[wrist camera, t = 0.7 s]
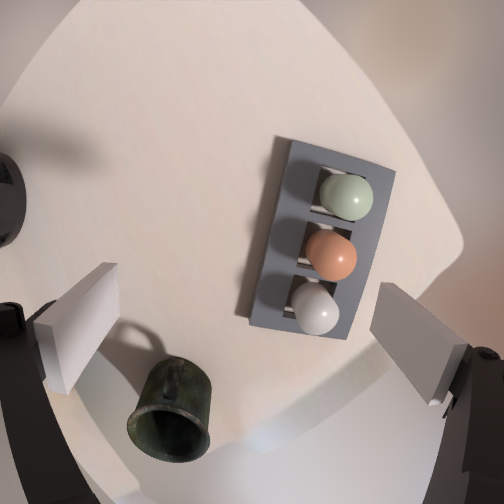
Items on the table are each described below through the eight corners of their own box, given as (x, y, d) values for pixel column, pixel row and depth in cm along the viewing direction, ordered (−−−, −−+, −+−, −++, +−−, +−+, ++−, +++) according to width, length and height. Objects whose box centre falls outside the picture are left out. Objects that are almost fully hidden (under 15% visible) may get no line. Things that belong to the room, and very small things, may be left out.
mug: (147, 403, 47) (129, 454, 36) (146, 329, 44) (121, 377, 32) (211, 414, 48) (207, 468, 36) (220, 341, 45) (216, 393, 33)
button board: (248, 318, 44) (249, 325, 42) (290, 141, 38) (293, 139, 36) (342, 333, 45) (346, 339, 43) (389, 170, 40) (395, 171, 38)
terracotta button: (300, 263, 40) (309, 276, 35) (310, 225, 39) (321, 232, 34) (337, 271, 41) (349, 284, 36) (347, 233, 39) (362, 242, 35)
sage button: (314, 209, 39) (325, 214, 34) (324, 169, 37) (336, 169, 33) (352, 218, 39) (366, 225, 34) (361, 180, 38) (377, 181, 33)
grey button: (286, 314, 42) (292, 332, 37) (296, 278, 41) (304, 293, 36) (322, 319, 42) (331, 337, 37) (333, 285, 41) (344, 300, 36)
